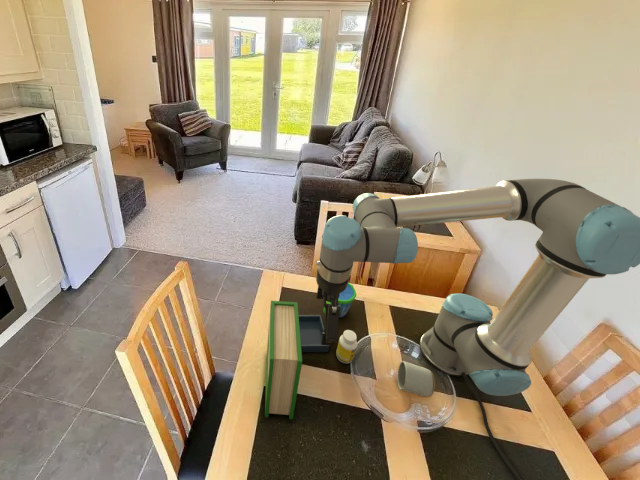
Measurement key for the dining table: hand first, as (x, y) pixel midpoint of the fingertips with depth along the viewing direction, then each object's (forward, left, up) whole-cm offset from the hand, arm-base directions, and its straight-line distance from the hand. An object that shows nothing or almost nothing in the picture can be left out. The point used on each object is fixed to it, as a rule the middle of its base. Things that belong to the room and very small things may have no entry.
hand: (323, 319), depth 88 cm
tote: (+10, -4, -20) cm, 23 cm away
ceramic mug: (-18, -21, -20) cm, 35 cm away
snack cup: (+13, -21, -20) cm, 32 cm away
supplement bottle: (-2, -10, -20) cm, 23 cm away
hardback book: (+1, +13, -20) cm, 24 cm away
